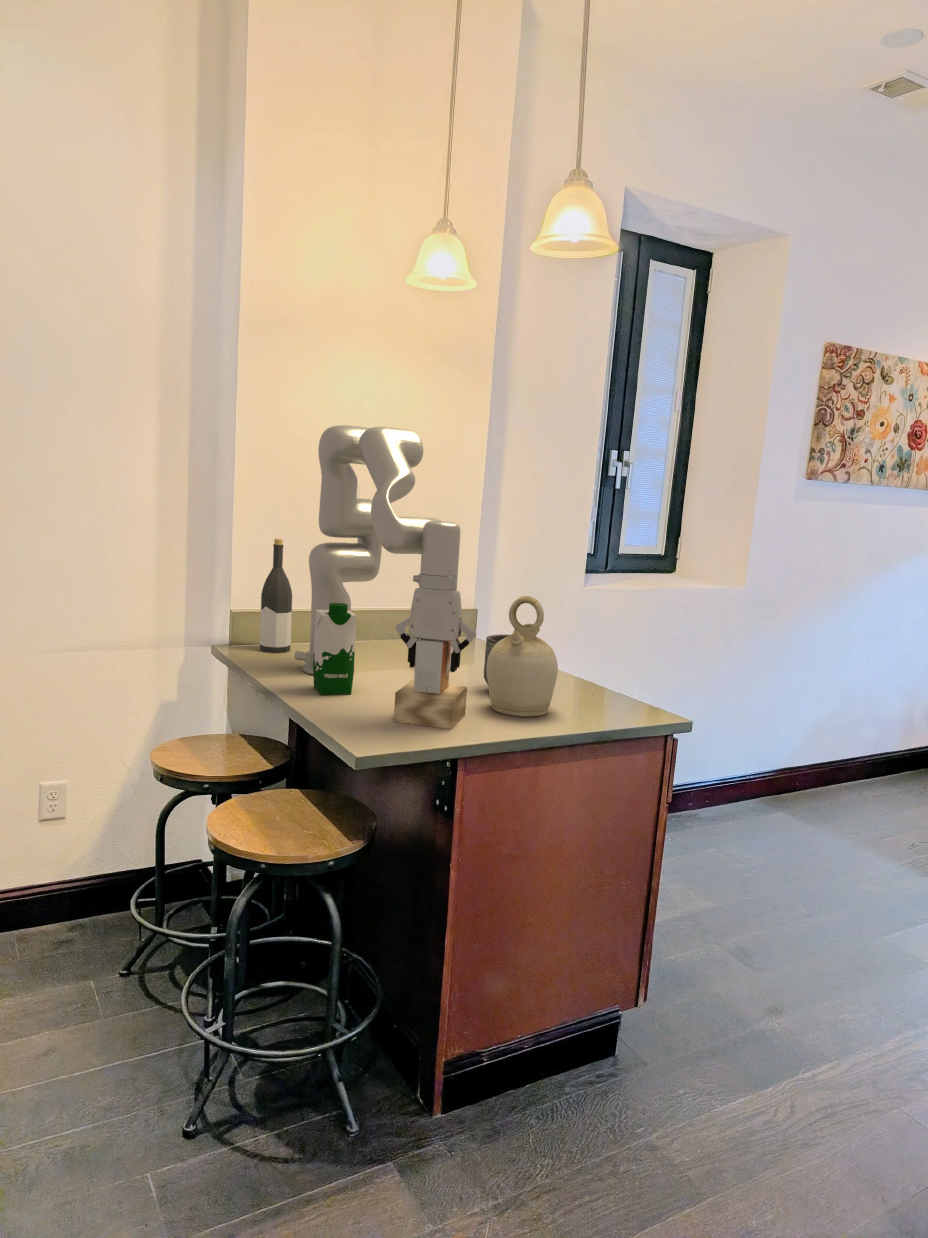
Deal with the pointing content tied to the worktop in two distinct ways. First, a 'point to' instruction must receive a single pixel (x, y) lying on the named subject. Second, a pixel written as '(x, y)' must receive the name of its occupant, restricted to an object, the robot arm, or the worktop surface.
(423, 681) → the small box
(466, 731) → the worktop surface
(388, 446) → the robot arm
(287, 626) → the wine bottle
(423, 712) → the beech block
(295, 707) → the worktop surface
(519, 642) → the jug
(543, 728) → the worktop surface
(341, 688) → the milk carton
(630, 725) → the worktop surface
